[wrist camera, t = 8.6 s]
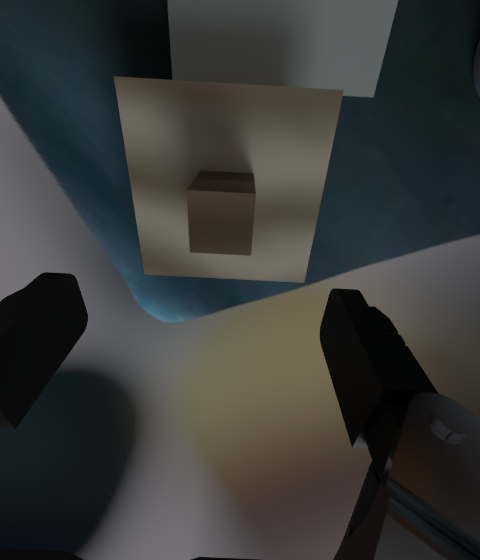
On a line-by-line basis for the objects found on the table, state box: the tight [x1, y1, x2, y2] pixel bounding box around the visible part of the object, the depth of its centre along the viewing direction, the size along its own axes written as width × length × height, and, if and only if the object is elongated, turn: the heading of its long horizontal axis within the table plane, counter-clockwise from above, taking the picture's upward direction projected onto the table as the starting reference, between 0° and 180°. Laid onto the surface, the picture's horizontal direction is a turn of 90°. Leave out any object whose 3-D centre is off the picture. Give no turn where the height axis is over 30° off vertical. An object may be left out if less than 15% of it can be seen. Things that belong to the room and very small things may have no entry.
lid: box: [114, 77, 344, 283], centre depth 17 cm, size 13×13×6 cm
